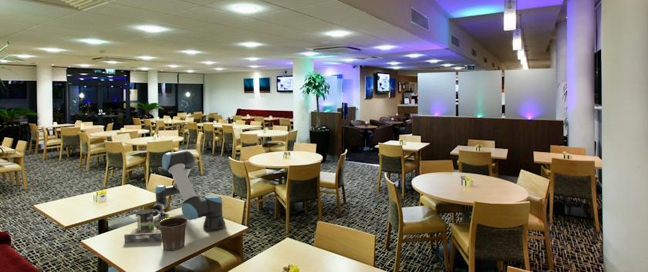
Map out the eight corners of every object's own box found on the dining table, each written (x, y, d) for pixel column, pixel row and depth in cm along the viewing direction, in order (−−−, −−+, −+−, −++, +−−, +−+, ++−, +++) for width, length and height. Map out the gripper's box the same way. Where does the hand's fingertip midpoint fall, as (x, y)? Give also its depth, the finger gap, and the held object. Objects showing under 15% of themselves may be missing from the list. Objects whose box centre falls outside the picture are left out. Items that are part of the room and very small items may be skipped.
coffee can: (157, 228, 246) (156, 209, 244) (147, 234, 236) (146, 214, 234) (144, 227, 248) (143, 208, 246) (134, 233, 238) (132, 213, 236)
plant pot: (193, 242, 224) (192, 218, 222) (178, 253, 208) (176, 227, 206) (171, 240, 227) (169, 216, 225) (154, 251, 211) (152, 225, 209)
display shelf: (167, 233, 238) (166, 225, 237) (160, 241, 225) (160, 233, 224) (133, 234, 235) (132, 227, 235) (124, 243, 222) (124, 235, 221)
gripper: (174, 213, 267) (165, 223, 246) (140, 214, 264) (127, 225, 243) (173, 203, 266) (164, 213, 245) (139, 205, 263) (127, 214, 242)
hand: (146, 219), depth 244 cm, fingers open, 13 cm apart
